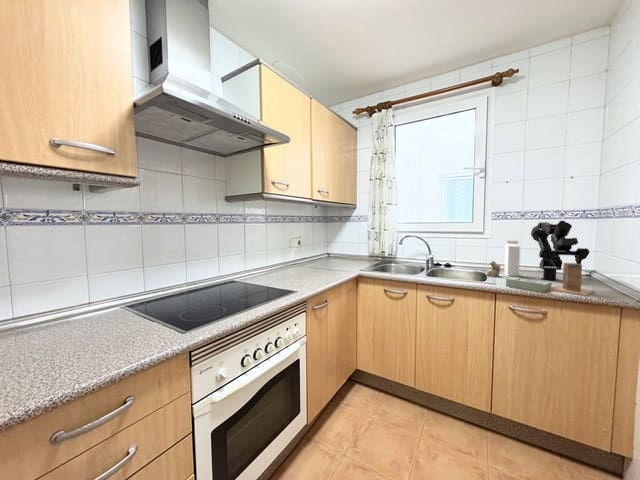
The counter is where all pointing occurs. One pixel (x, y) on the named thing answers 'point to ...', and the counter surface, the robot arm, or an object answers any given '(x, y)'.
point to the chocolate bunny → (493, 270)
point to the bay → (528, 285)
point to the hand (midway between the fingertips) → (567, 266)
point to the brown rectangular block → (572, 276)
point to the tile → (583, 291)
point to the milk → (512, 258)
